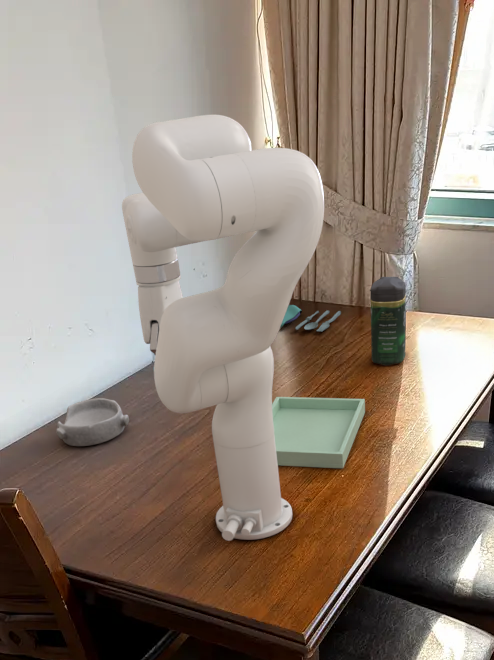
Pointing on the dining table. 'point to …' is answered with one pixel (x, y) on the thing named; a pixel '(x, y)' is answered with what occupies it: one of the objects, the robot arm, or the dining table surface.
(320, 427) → the tray
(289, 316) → the cutlery set
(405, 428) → the dining table surface
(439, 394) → the dining table surface
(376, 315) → the coffee jar
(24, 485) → the dining table surface
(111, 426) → the dish
